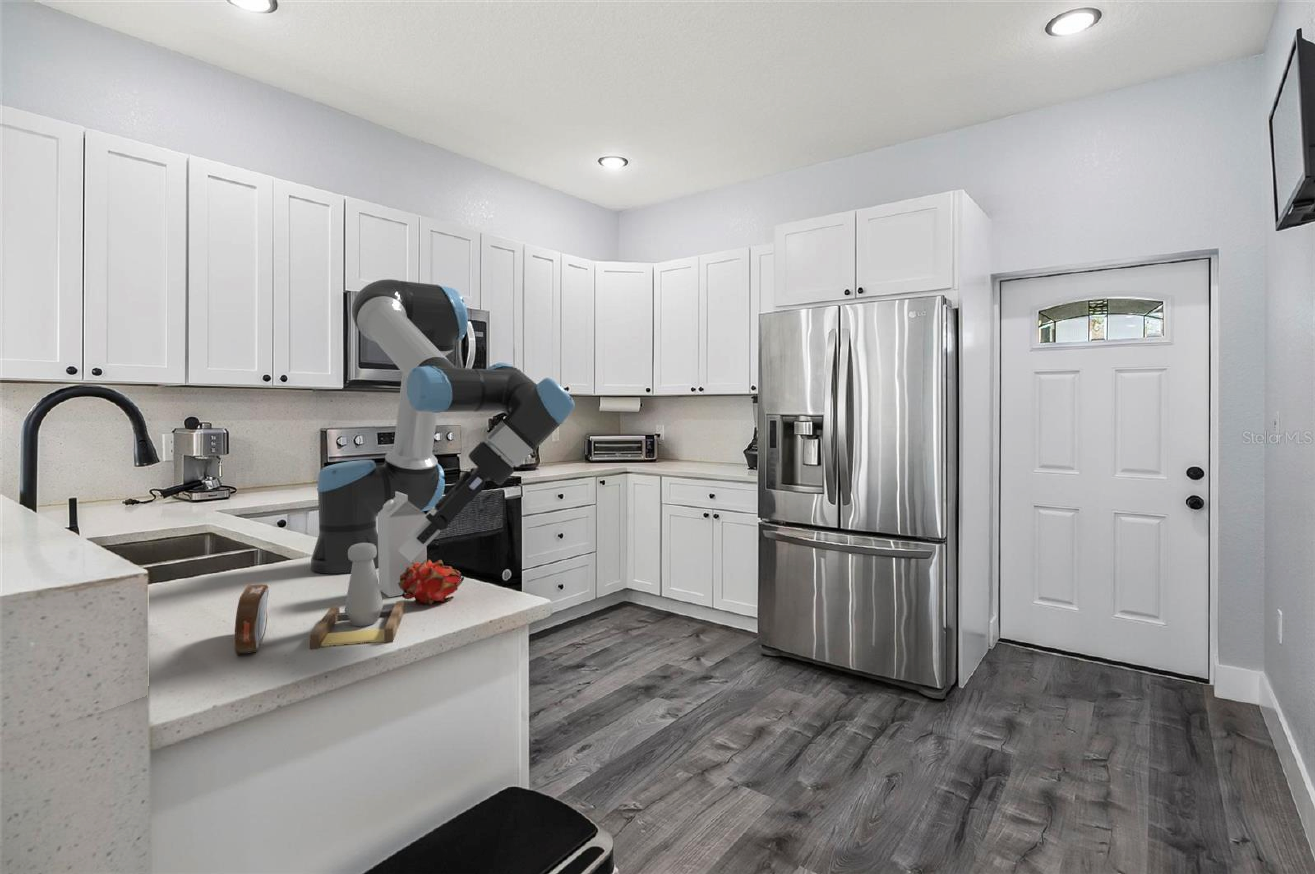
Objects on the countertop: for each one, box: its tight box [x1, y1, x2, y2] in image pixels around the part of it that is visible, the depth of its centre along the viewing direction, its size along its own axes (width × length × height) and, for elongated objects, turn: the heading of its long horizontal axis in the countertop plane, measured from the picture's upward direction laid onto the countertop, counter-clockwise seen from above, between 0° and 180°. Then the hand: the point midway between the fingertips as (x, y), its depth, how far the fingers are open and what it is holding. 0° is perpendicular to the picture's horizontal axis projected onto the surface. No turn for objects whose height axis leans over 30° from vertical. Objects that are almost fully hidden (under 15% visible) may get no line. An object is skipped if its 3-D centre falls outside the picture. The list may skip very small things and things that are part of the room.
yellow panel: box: [320, 628, 385, 647], centre depth 103 cm, size 5×9×1 cm, turn 105°
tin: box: [233, 583, 269, 655], centre depth 100 cm, size 15×3×8 cm, turn 24°
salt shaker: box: [344, 543, 384, 627], centre depth 110 cm, size 6×6×13 cm
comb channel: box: [309, 600, 405, 650], centre depth 107 cm, size 15×11×2 cm
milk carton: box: [377, 492, 428, 598], centre depth 129 cm, size 7×7×19 cm
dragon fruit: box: [398, 559, 465, 605], centre depth 122 cm, size 8×8×12 cm
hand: (408, 547), depth 111 cm, fingers open, 13 cm apart
